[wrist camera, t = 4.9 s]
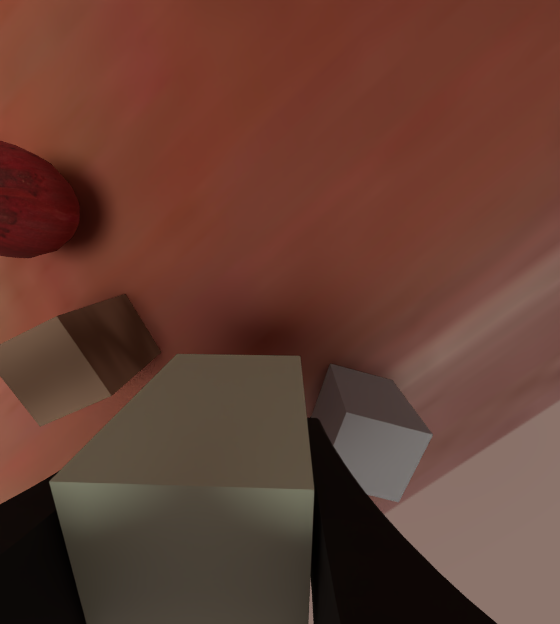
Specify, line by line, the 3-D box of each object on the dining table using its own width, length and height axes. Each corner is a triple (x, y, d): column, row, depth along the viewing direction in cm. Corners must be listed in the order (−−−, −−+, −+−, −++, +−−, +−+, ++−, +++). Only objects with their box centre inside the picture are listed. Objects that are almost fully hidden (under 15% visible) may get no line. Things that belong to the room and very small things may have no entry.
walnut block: (161, 351, 21) (111, 395, 15) (108, 375, 21) (40, 426, 15) (125, 293, 19) (56, 316, 14) (70, 320, 20) (-18, 353, 14)
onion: (85, 150, 17) (-85, 74, 9) (122, 240, 18) (2, 240, 11) (6, 178, 18) (-216, 129, 10) (48, 263, 19) (-117, 280, 11)
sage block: (297, 459, 12) (306, 663, 6) (187, 456, 12) (93, 653, 6) (300, 355, 11) (314, 490, 5) (177, 353, 11) (48, 482, 5)
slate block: (369, 432, 22) (398, 502, 16) (310, 417, 22) (318, 482, 16) (392, 380, 21) (432, 434, 15) (329, 363, 20) (346, 412, 15)
